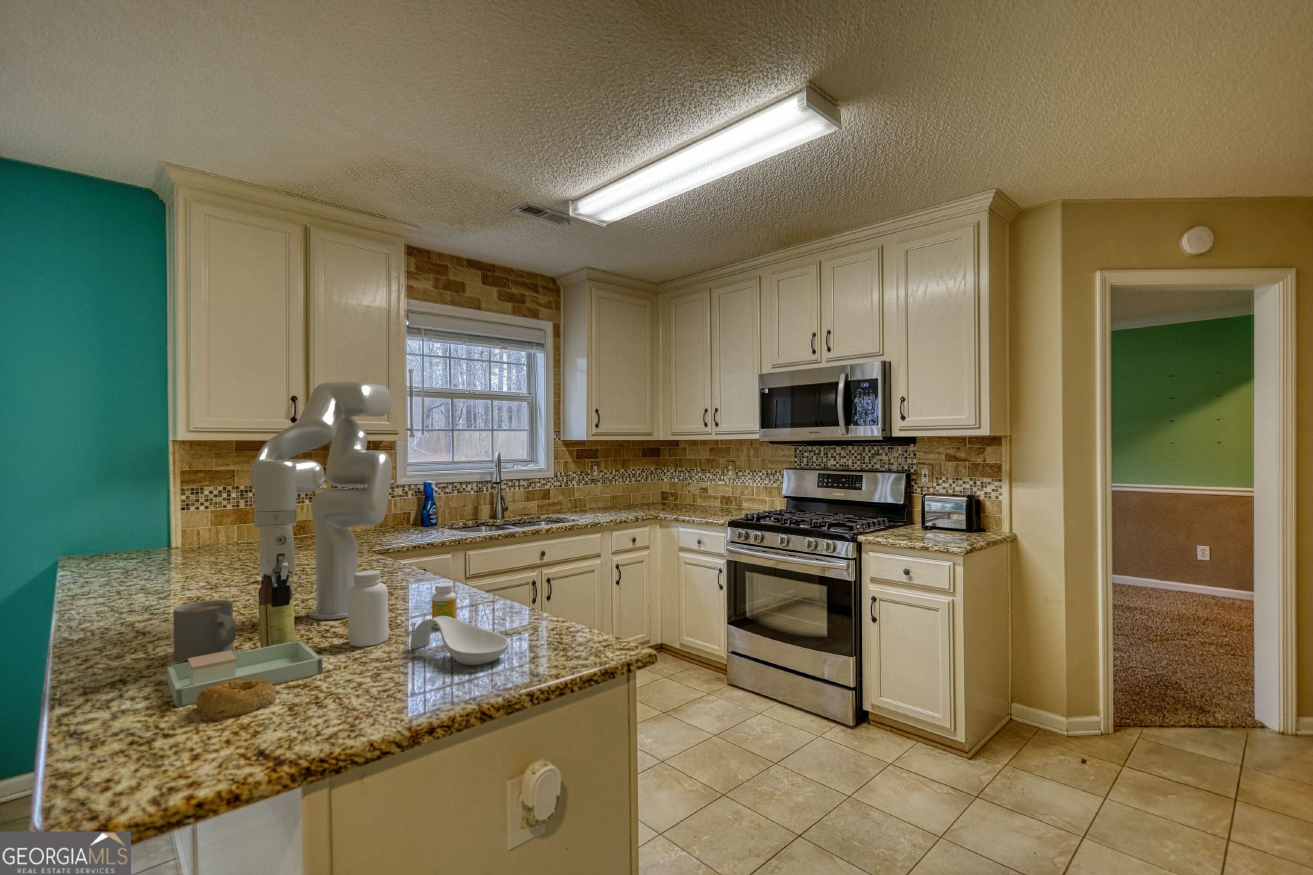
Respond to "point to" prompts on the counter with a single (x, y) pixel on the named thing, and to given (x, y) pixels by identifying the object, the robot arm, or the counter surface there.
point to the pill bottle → (367, 610)
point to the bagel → (235, 698)
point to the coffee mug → (203, 628)
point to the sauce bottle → (274, 618)
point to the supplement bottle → (443, 601)
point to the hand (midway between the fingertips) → (275, 602)
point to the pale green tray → (251, 669)
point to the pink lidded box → (211, 667)
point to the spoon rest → (462, 640)
